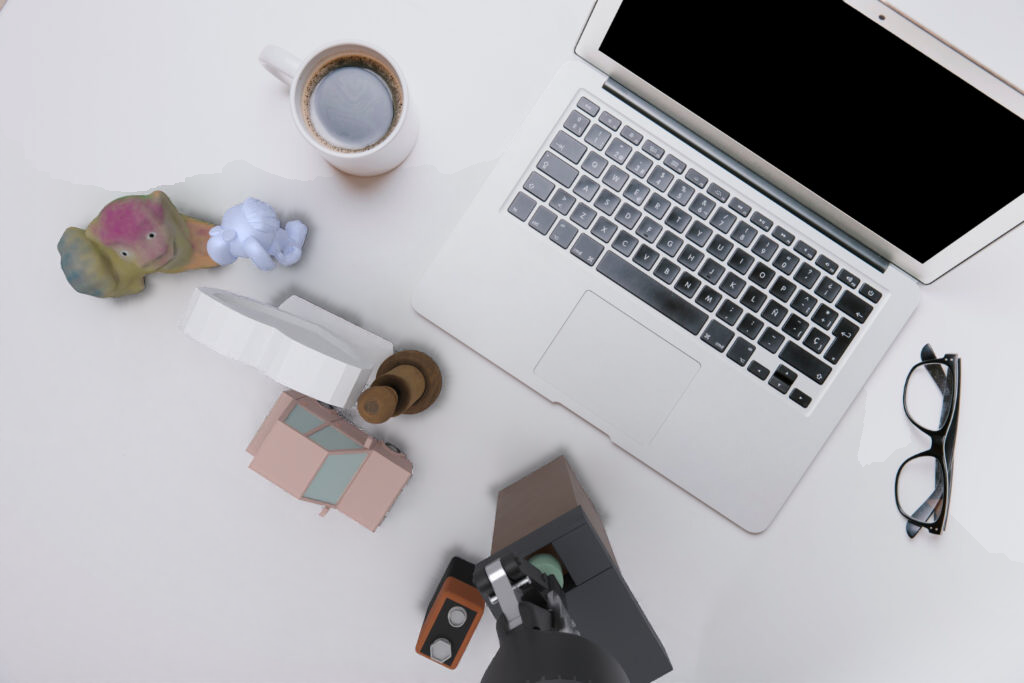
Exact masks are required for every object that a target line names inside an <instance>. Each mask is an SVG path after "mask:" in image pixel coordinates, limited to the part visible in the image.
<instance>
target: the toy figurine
mask: <svg viewBox="0 0 1024 683" xmlns="http://www.w3.org/2000/svg"><path fill="white" fill-rule="evenodd" d="M221 217H222V219H221V223H220V225H216V226H215V227H213V228H212V229H211V230H210V231H209V235H210V236H212V237H211V238H210V239H209V240H208V242H207V251H208V254H209V256H210V257H211V258H212V260H214V261H215V262H216V263H218V264H220V265H221V266H229V265H232V264H234V263H235V262H237V261H238V259H239V258H243V259H249V260H250V261H251V263H252V264H253V265H254V267H256V269H258V270H259V271H262V272H270V271H272V270H274V269H275V268H276V266H277V264H276V263H275V262H274V259H272V257H271V256H273V257H274V258H275V260H277V261H278V262H279V263H280V264H281V265H283V266H287V267H288V266H292V265H294V264H296V263H297V262H298V261H299V260H300V259H301V258H302V254H303V250H302V248H303V246H304V243H305V242H306V236H307V233H308V227H307V225H306V224H305V223H303V221H302V220H300V219H295V220H289V221H287V222H286V224H285V227H284V229H283V228H281V221H280V220H279V219H278V214H277V212H276V211H275V209H274V207H273V206H271V205H269V204H268V203H267V202H265V201H263V200H261V199H259V198H255V197H252V196H248V197H247V198H246V199H245V200H244V201H243V202H242V203H238V204H235V205H232V206H231V207H229V208H227V210H226V211H225V213H224V214H223V215H221ZM220 265H219V266H220Z"/></svg>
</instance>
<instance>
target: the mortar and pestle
mask: <svg viewBox="0 0 1024 683" xmlns="http://www.w3.org/2000/svg"><path fill="white" fill-rule="evenodd" d="M442 388H443V376H442V373H441V370H440V368H439V366H438V364H437V363H436V361H435V360H434V359H433V358H432V357H431V356H429V355H428V354H426V353H424V352H422V351H420V350H416V349H415V350H414V349H405V350H400V351H397V352H395V353H393V355H391V356H390V357H388V358H387V359H386V360H384V361H383V363H382V364H381V365H380V367H379V369H378V371H377V374H376V379H375V380H374V381H373V382H372V384H371V386H370V385H369V387H367V388H366V389H363V391H362V393H361V395H360V396H359V398H358V401H357V402H356V408H357V412H358V414H359V416H360V418H361V419H362V420H363V421H365V422H366V423H368V424H372V425H380V424H383V423H387V421H389V420H390V419H392V418H396V417H400V416H401V415H407V416H409V415H416V414H419V413H420V414H421V413H423V412H424V411H426V410H427V409H429V408H430V407H431V406H432V405H433V404H434V403H435V402H436V401H437V399H438V397H439V396H440V394H441V391H442Z"/></svg>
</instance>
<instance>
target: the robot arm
mask: <svg viewBox="0 0 1024 683" xmlns="http://www.w3.org/2000/svg"><path fill="white" fill-rule="evenodd" d="M473 578H474V584H475V586H476V587H477V589H479V590H480V592H481V593H482V594H484V595H486V596H488V597H489V600H490V602H491V603H492V604H493V605H494V604H496V603H497V602H499V604H500V606H501V609H502V611H503V612H502V613H501V614H500V615H499V616H498V618H497V621H496V620H495V630H496V631H495V632H496V635H497V638H498V644H499V648H498V650H497V652H496V653H495V655H494V656H493V658H492V659H491V661H490V662H489V664H488V666H487V668H486V669H485V671H484V673H483V675H482V677H481V680H480V682H479V683H630V682H629V679H628V677H627V675H626V673H625V672H624V670H623V669H622V667H621V666H620V664H619V663H618V662H617V660H616V659H615V658H614V657H613V656H612V655H611V654H610V653H609V652H608V651H607V650H605V649H604V648H603V647H601V646H600V645H598V644H597V643H595V642H593V641H591V640H589V639H587V638H585V637H582V636H581V634H580V632H579V631H578V630H577V629H576V623H575V621H574V619H573V618H571V617H570V615H569V614H568V610H567V603H566V596H565V592H564V591H563V589H562V587H561V586H560V584H559V582H558V580H557V579H556V577H555V575H554V574H550V575H548V576H547V575H546V573H543V574H542V572H541V571H540V570H539V569H538V568H536V567H535V566H534V565H532V564H531V563H529V562H528V561H527V560H525V559H524V558H522V557H521V556H520V555H518V554H517V553H516V552H514V551H511V552H509V553H507V554H505V555H504V556H502V557H501V558H498V559H497V560H495V561H493V562H491V563H490V564H488V565H486V566H484V567H483V568H481V569H479V570H477V571H476V572H474V573H473Z"/></svg>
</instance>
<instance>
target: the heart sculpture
mask: <svg viewBox="0 0 1024 683" xmlns="http://www.w3.org/2000/svg"><path fill="white" fill-rule="evenodd" d="M177 327H178V328H179V329H180V330H181V331H182V332H183V333H184V334H185V335H188V336H189V337H190V338H192V339H193V340H195V341H197V342H198V343H200V344H202V345H203V346H205V347H207V348H209V349H211V350H212V351H214V352H216V353H218V354H220V355H222V356H224V357H226V358H228V359H231V360H234V361H236V362H238V363H241V364H245V365H247V366H250V367H253V368H256V369H257V370H258V371H260V372H261V373H262V374H264V375H265V377H268V378H270V379H271V380H272V381H274V382H277V383H278V384H281V385H283V386H285V387H286V388H289V389H290V390H295V391H298V392H300V393H302V394H305V395H307V396H309V397H310V398H315V399H317V400H320V401H322V402H325V403H327V404H330V405H331V406H335V407H338V408H342V409H347V408H354V407H355V406H356V405H357V402H358V398H359V396H360V395H361V393H362V392H363V391H364V390H365V389H364V388H365V386H366V385H368V386H369V387H370V386H371V384H372V382H373V381H374V380H375V379H376V374H377V371H378V369H379V367H380V365H381V364H382V363H383V361H384V360H386V359H387V358H388V357H390V356H391V355H393V354H394V343H393V342H391V341H389V340H387V339H385V338H383V337H381V336H379V335H377V334H374V333H372V332H371V331H369V330H366V329H364V328H363V327H360V326H358V325H356V324H354V323H352V322H350V321H349V320H346V319H344V318H342V317H341V316H339V315H336V314H334V313H332V312H330V311H328V310H326V309H324V308H322V307H320V306H317V305H316V304H314V303H311V302H309V301H308V300H306V299H304V298H302V297H299V296H297V295H296V294H292V295H291V296H290V297H288V298H287V299H286V300H284V301H283V302H282V303H281V304H280V305H279V306H273V305H271V304H268V303H266V302H262V301H261V300H257V299H254V298H252V297H248V296H245V295H243V294H239V293H236V292H232V291H229V290H226V289H221V288H215V287H210V286H196V287H195V288H194V291H193V293H192V295H191V298H190V299H189V302H188V304H187V306H186V308H185V310H184V312H183V315H182V317H181V319H180V321H179V323H178V326H177Z"/></svg>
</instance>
